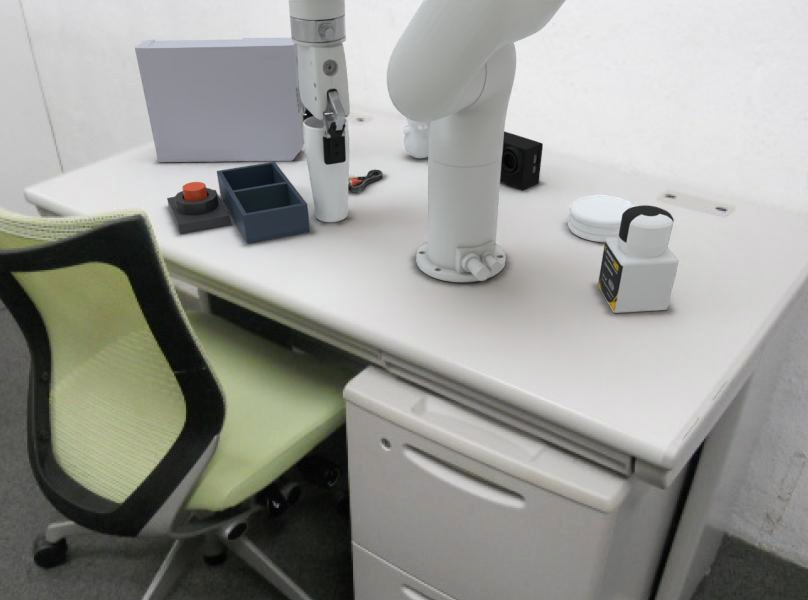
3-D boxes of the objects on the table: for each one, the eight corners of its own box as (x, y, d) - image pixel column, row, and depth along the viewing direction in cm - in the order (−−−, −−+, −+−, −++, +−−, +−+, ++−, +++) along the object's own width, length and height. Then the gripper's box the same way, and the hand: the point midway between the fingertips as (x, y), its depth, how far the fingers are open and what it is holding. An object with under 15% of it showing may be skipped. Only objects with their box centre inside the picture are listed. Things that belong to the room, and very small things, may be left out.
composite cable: (376, 173, 137) (376, 159, 136) (394, 181, 134) (394, 167, 133) (332, 188, 132) (331, 174, 131) (349, 197, 129) (348, 182, 128)
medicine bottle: (596, 286, 104) (610, 201, 97) (649, 283, 104) (667, 198, 97) (612, 314, 98) (629, 226, 91) (668, 310, 99) (689, 223, 91)
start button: (209, 200, 122) (207, 188, 121) (186, 204, 121) (184, 192, 120) (205, 191, 125) (203, 180, 124) (182, 195, 124) (180, 183, 123)
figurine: (393, 156, 143) (392, 89, 136) (419, 147, 147) (419, 81, 139) (420, 166, 139) (420, 97, 132) (446, 156, 143) (448, 88, 135)
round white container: (644, 223, 118) (649, 202, 116) (621, 249, 112) (625, 227, 110) (582, 209, 123) (585, 188, 121) (556, 233, 117) (559, 211, 114)
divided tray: (310, 232, 119) (307, 204, 116) (247, 244, 116) (242, 215, 114) (277, 187, 133) (274, 161, 130) (220, 197, 131) (216, 170, 128)
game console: (165, 151, 148) (143, 39, 136) (307, 150, 147) (297, 36, 135) (157, 162, 144) (134, 47, 132) (303, 161, 143) (293, 45, 130)
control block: (231, 225, 122) (227, 204, 120) (180, 234, 120) (175, 213, 118) (216, 199, 130) (213, 179, 128) (168, 207, 128) (164, 187, 126)
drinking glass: (347, 227, 120) (342, 130, 111) (305, 224, 121) (296, 128, 112) (357, 209, 125) (352, 114, 116) (316, 206, 127) (309, 112, 117)
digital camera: (471, 175, 135) (473, 135, 131) (492, 167, 138) (495, 127, 134) (517, 192, 129) (521, 151, 125) (538, 183, 132) (543, 142, 127)
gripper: (365, 41, 101) (367, 168, 112) (324, 12, 114) (330, 129, 125) (310, 47, 99) (318, 176, 110) (275, 17, 112) (285, 135, 123)
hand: (324, 151), depth 117 cm, fingers open, 9 cm apart
